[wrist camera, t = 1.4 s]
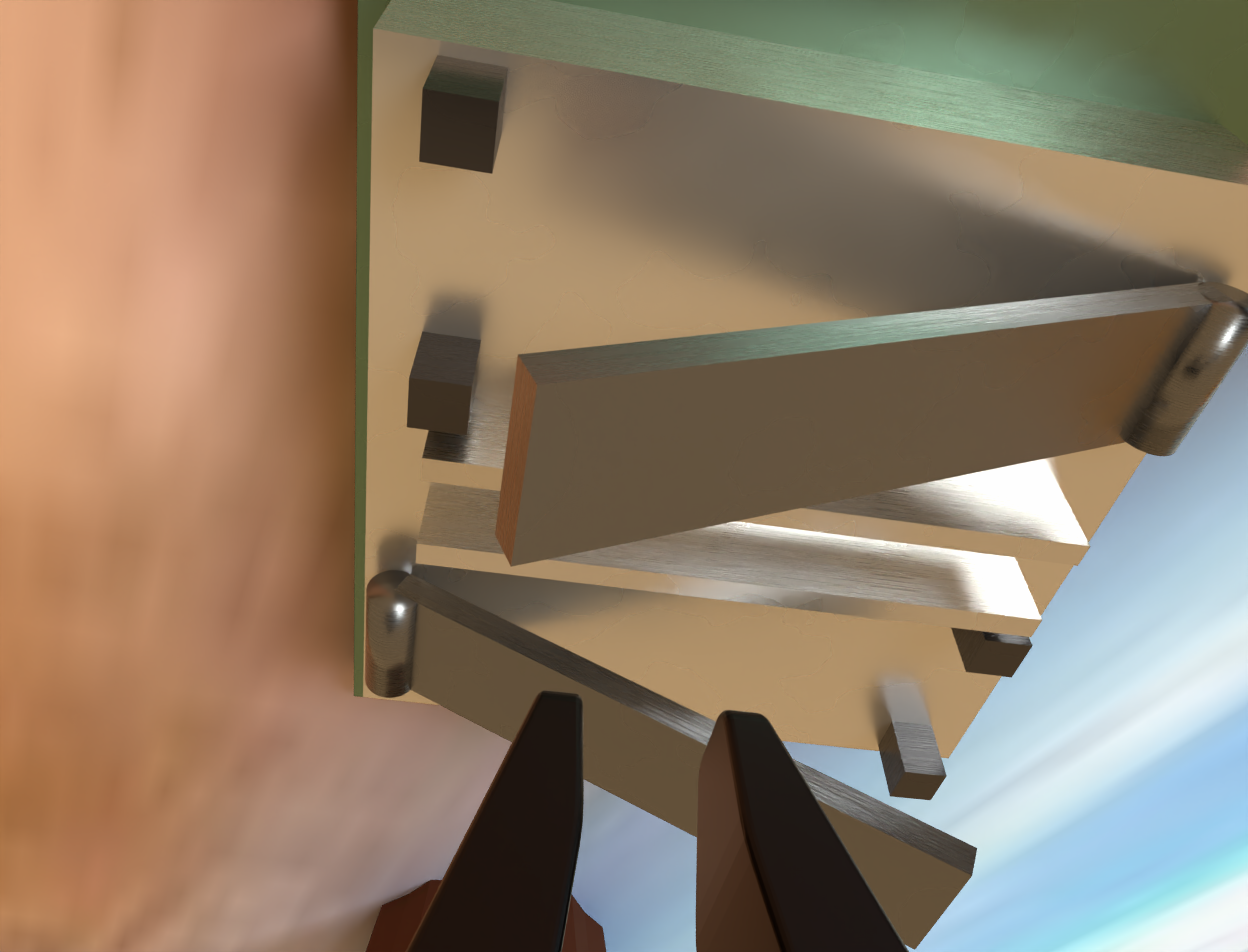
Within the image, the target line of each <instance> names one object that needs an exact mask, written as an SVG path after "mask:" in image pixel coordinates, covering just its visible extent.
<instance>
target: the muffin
mask: <svg viewBox="0 0 1248 952" xmlns="http://www.w3.org/2000/svg"><path fill="white" fill-rule="evenodd" d="M441 881H442V880H430V881H429V882H427V883H425V884H424V885H422V886H421V887H419V888H418V889H416V890H415V891H413V892H411V893H410V894H408V895H406V896H403V897H401V898H398V899H396V900H394V901H391V902H389V903H386V904H384V905H382V907H381V910H380V913H379V916H378V918H377V921H376V924H375V927H374V930H373V933H372V935H371V938H370V941H369V944H368V947H367V950H366V952H406V950H407V948H408V946H409V944H410V942H411V940H412V938H413V936H414V934H415V932H416V930H417V929H418V927H419V925H420V923H421V921H422V919H423V917H424V915H425V913H426V911H427V909H428V907H429V905H430V903H431V901H432V899H433V897H434V895H435V893H436V891H437V889H438V887H439V885H440V883H441ZM561 952H606V947H605V940H604V933H603V927H602V926H600V925H599V924H598V923H597V922H596V921H594V920H593V919H592V918H591V917H590V916H588V915H587V914H586V913H585V912H584V911H583V909H582V908H581V907H580V905H579V904H578V903H577V901H576V900H575V898H574V897H573V896H572V895H571V899H570V905H569V911H568V916H567V922H566V928H565V934H564V940H563V945H562V951H561Z"/></svg>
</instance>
